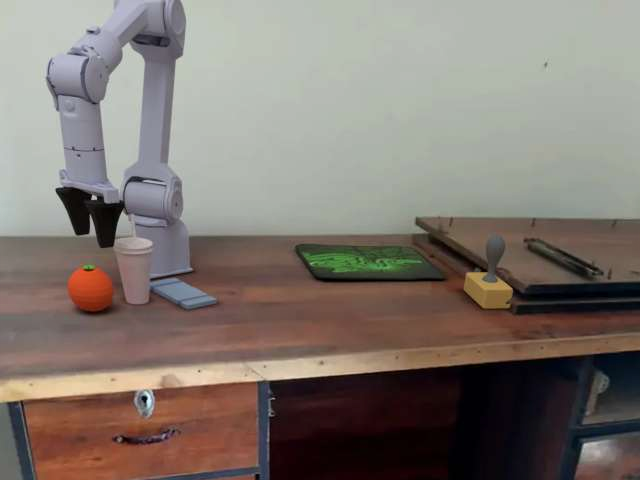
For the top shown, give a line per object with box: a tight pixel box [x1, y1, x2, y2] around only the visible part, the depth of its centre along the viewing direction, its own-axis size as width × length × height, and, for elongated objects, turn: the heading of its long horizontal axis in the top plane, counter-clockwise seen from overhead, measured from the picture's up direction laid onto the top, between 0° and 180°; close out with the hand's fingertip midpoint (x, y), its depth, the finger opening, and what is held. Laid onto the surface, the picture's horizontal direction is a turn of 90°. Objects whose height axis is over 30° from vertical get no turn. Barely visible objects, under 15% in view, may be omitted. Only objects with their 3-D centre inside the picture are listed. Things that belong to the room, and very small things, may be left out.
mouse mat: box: [294, 243, 447, 281], centre depth 159 cm, size 27×22×1 cm
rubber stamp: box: [463, 234, 514, 309], centre depth 144 cm, size 10×6×12 cm, turn 16°
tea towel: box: [149, 277, 218, 311], centre depth 134 cm, size 6×13×1 cm, turn 45°
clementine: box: [67, 264, 115, 313], centre depth 124 cm, size 8×7×7 cm
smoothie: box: [112, 214, 153, 305], centre depth 127 cm, size 6×6×14 cm
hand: (94, 240), depth 122 cm, fingers open, 7 cm apart
